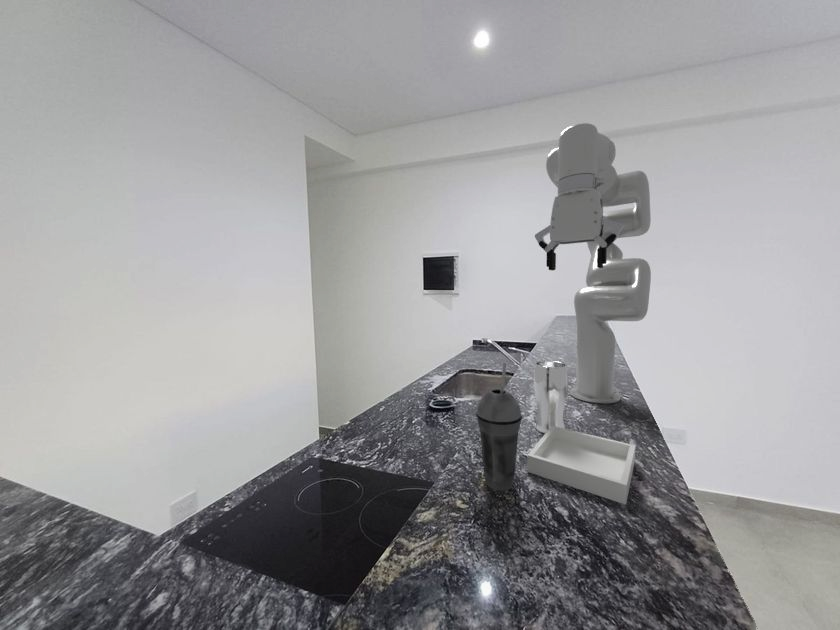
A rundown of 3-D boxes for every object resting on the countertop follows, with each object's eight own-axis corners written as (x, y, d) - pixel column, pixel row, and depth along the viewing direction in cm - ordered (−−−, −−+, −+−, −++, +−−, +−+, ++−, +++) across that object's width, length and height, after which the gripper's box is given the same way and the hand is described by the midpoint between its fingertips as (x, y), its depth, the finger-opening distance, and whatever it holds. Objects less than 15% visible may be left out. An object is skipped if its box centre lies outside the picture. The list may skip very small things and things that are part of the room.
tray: (551, 439, 68) (551, 425, 67) (634, 461, 59) (635, 445, 58) (527, 471, 56) (527, 455, 56) (625, 504, 47) (626, 485, 47)
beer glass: (560, 423, 75) (561, 360, 74) (571, 436, 69) (573, 367, 67) (530, 422, 76) (530, 360, 75) (538, 436, 69) (538, 367, 68)
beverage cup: (468, 475, 55) (467, 361, 54) (504, 466, 58) (504, 357, 56) (492, 501, 49) (491, 371, 47) (531, 489, 51) (532, 366, 50)
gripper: (626, 184, 67) (623, 267, 68) (541, 200, 77) (540, 271, 79) (622, 174, 61) (619, 265, 62) (530, 192, 71) (529, 270, 73)
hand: (575, 268), depth 70 cm, fingers open, 9 cm apart
